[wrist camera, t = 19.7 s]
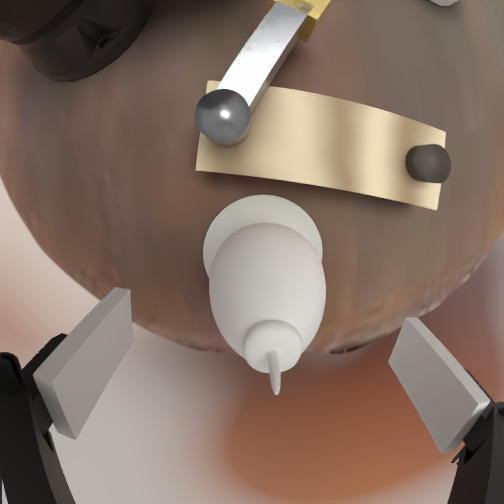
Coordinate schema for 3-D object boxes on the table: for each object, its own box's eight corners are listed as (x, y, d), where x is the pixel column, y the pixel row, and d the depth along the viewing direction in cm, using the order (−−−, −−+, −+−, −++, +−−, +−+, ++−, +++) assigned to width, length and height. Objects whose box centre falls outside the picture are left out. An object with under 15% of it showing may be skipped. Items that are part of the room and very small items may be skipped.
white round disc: (200, 300, 29) (199, 302, 28) (209, 187, 26) (208, 188, 25) (309, 312, 29) (310, 315, 28) (329, 203, 26) (331, 204, 26)
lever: (239, 155, 20) (236, 151, 16) (195, 134, 20) (182, 125, 16) (322, 18, 17) (335, -7, 13) (282, 0, 16) (287, -28, 12)
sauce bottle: (222, 295, 28) (183, 450, 10) (220, 213, 26) (150, 293, 8) (304, 295, 28) (357, 446, 10) (308, 213, 26) (402, 291, 8)
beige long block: (206, 170, 25) (188, 170, 18) (216, 96, 24) (202, 69, 16) (409, 203, 26) (453, 215, 19) (418, 136, 24) (462, 130, 17)
